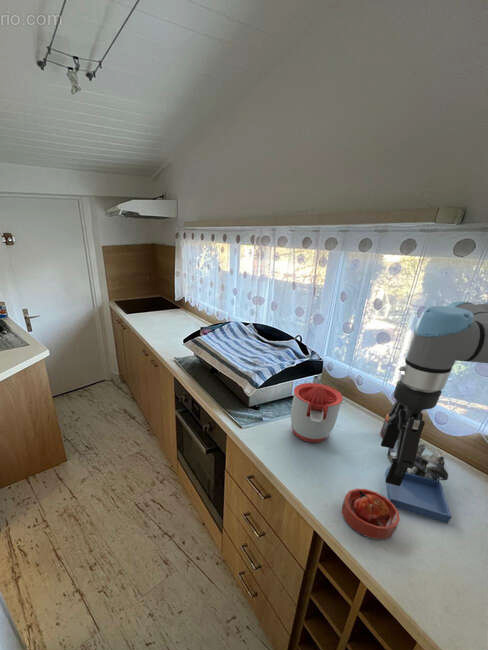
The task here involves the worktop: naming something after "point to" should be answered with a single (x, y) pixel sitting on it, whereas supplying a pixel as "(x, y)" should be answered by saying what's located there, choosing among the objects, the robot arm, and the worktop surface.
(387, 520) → the red bowl
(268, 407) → the worktop surface
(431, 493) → the blue tray
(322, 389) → the citrus juicer
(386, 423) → the supplement bottle
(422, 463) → the foil
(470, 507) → the worktop surface
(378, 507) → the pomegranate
